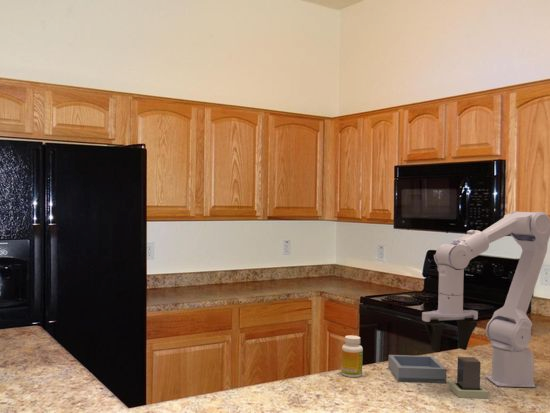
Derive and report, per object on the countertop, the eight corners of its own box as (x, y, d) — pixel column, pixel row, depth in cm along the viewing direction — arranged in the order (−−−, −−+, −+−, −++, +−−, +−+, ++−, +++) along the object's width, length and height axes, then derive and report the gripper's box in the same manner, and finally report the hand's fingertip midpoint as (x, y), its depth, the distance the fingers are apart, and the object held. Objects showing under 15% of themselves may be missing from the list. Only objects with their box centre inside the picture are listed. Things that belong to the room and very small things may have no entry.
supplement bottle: (361, 378, 140) (362, 340, 140) (340, 376, 141) (341, 338, 141) (362, 372, 145) (363, 335, 145) (342, 370, 146) (343, 333, 146)
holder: (477, 388, 134) (477, 382, 134) (488, 398, 127) (488, 391, 127) (448, 387, 134) (448, 381, 134) (458, 397, 127) (458, 391, 127)
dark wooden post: (473, 390, 133) (474, 357, 133) (479, 396, 129) (480, 362, 129) (456, 389, 133) (457, 356, 133) (462, 395, 129) (463, 361, 129)
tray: (432, 368, 150) (432, 356, 150) (446, 383, 138) (446, 369, 138) (388, 367, 150) (388, 354, 150) (398, 381, 138) (398, 367, 138)
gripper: (465, 290, 139) (464, 344, 139) (415, 291, 135) (414, 347, 135) (484, 294, 133) (482, 351, 133) (432, 296, 128) (430, 354, 128)
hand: (449, 349), depth 133 cm, fingers open, 7 cm apart
